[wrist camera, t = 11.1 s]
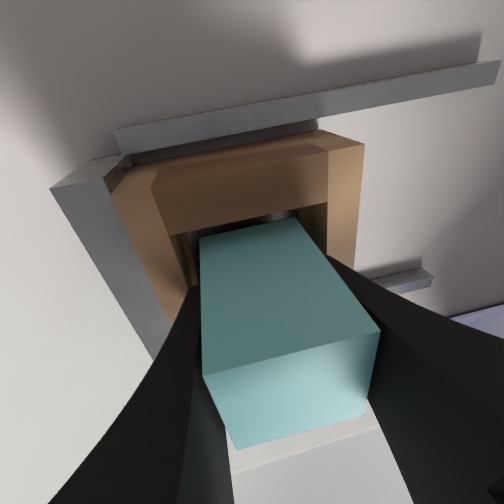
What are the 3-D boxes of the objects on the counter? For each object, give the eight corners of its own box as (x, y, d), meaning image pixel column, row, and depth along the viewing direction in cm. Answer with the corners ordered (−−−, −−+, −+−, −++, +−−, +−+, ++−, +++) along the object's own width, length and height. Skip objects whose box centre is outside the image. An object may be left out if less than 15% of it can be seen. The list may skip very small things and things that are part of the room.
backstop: (418, 276, 17) (463, 314, 14) (175, 336, 16) (171, 390, 13) (478, 62, 11) (580, 52, 8) (79, 135, 10) (29, 156, 7)
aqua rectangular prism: (299, 288, 13) (363, 415, 8) (220, 307, 13) (236, 450, 8) (294, 216, 11) (380, 330, 6) (199, 237, 10) (202, 376, 5)
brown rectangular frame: (320, 286, 16) (347, 329, 13) (193, 316, 16) (192, 369, 13) (320, 129, 11) (364, 143, 8) (133, 165, 11) (109, 195, 8)
